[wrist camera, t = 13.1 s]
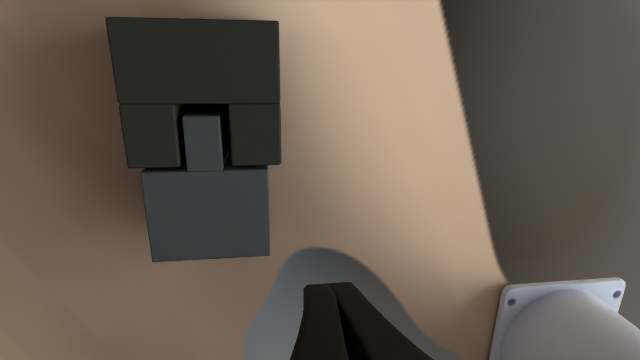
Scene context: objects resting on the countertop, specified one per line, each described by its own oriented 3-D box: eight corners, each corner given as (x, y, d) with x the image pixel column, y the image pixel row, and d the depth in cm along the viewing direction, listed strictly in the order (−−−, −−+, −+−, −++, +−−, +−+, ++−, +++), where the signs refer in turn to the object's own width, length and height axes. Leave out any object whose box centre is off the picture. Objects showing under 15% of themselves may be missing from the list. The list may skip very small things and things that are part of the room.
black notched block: (278, 147, 19) (281, 165, 16) (148, 150, 18) (127, 168, 15) (276, 25, 17) (278, 20, 14) (132, 22, 16) (104, 16, 13)
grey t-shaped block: (269, 227, 20) (270, 256, 17) (168, 231, 19) (152, 262, 17) (265, 105, 18) (266, 116, 15) (153, 106, 17) (131, 117, 15)
